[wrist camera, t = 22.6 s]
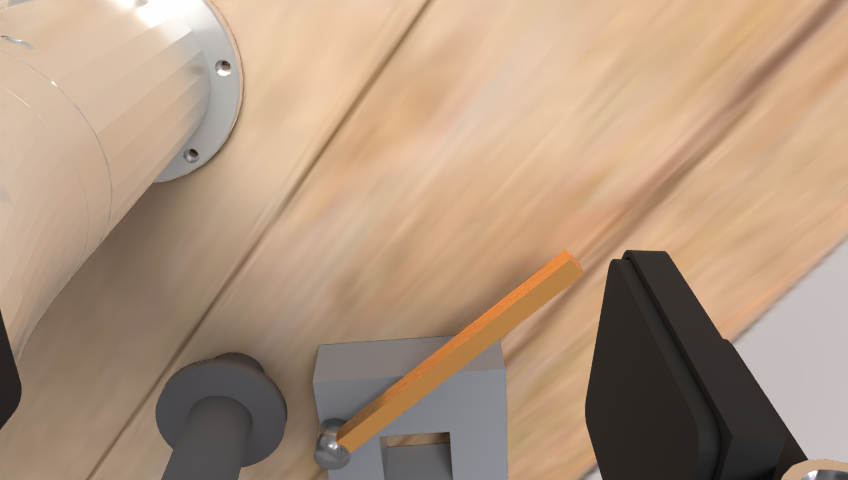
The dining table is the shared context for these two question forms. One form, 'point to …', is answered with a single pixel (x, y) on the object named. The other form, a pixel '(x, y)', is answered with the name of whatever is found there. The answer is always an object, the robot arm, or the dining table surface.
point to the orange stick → (444, 362)
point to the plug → (219, 418)
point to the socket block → (417, 411)
